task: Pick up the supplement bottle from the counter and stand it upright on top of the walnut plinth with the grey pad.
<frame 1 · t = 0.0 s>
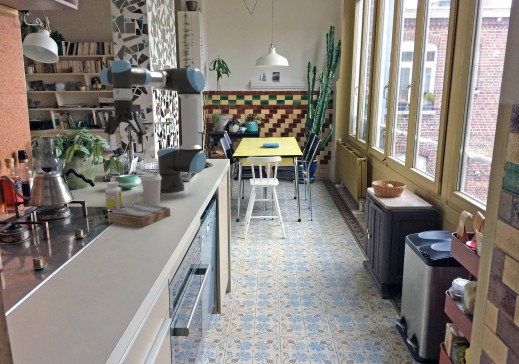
hand: (126, 150, 177), 28 cm above the worktop, tool pointing down, fingers open, 13 cm apart
supplement bottle: (114, 210, 190), on the worktop
plinth: (140, 218, 177), on the worktop
coffee cup: (152, 206, 198), on the worktop
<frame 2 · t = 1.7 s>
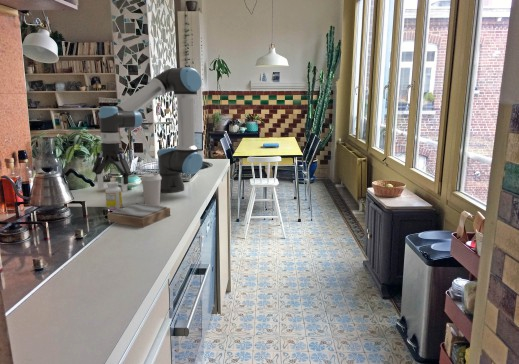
hand: (112, 189, 188), 9 cm above the worktop, tool pointing down, fingers open, 13 cm apart
nothing on the worktop moved.
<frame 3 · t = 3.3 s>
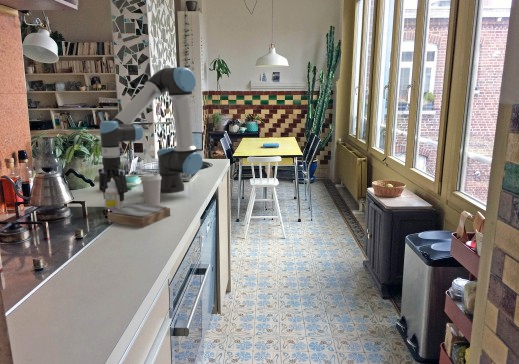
hand: (114, 206, 190), 2 cm above the worktop, tool pointing down, fingers closed on supplement bottle, 7 cm apart
supplement bottle: (114, 210, 190), on the worktop, touching gripper
everything else where it was.
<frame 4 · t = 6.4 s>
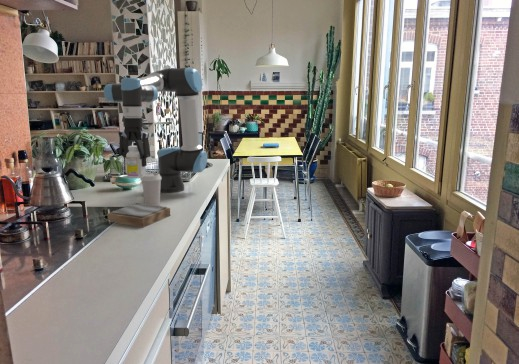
hand: (135, 173, 174), 19 cm above the worktop, tool pointing down, fingers closed on supplement bottle, 7 cm apart
supplement bottle: (135, 177, 174), point 18 cm above the worktop, touching gripper
everything else where it was.
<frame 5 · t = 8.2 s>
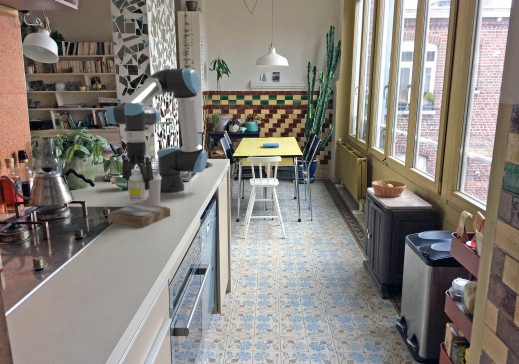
hand: (138, 196, 175), 10 cm above the worktop, tool pointing down, fingers closed on supplement bottle, 7 cm apart
supplement bottle: (138, 200, 176), point 8 cm above the worktop, touching gripper
everything else where it was.
when the fingers open (7 cm above the worktop, at t = 9.6 s): supplement bottle drops 1 cm, resting on plinth.
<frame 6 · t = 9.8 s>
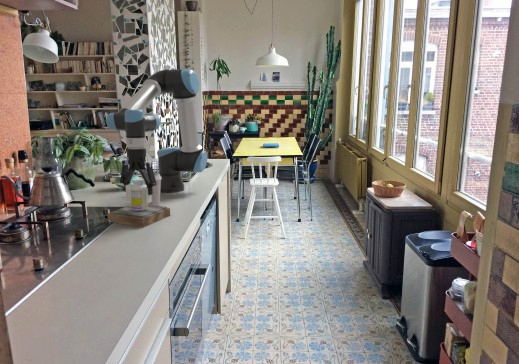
hand: (139, 201, 176), 8 cm above the worktop, tool pointing down, fingers open, 9 cm apart
supplement bottle: (139, 209, 176), point 4 cm above the worktop, touching plinth
everything else where it was.
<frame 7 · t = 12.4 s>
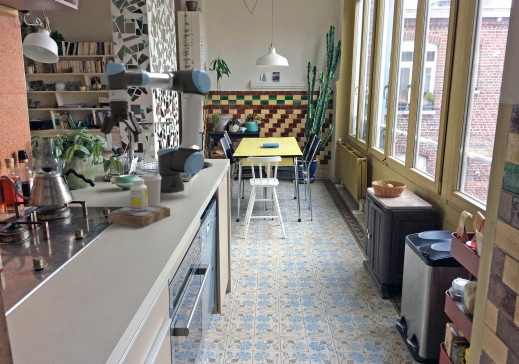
hand: (122, 149, 185), 28 cm above the worktop, tool pointing down, fingers open, 13 cm apart
nothing on the worktop moved.
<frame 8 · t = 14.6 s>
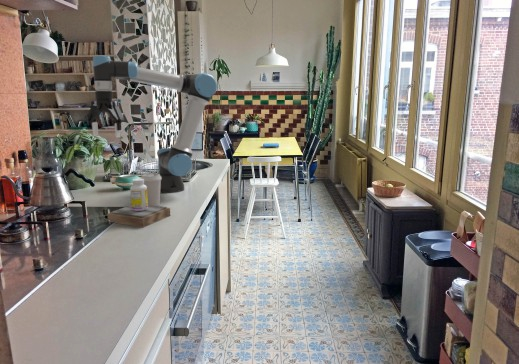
hand: (106, 136, 198), 32 cm above the worktop, tool pointing down, fingers open, 13 cm apart
nothing on the worktop moved.
at the end: supplement bottle inside the target area on the plinth (0.2 cm from its centre), point 3.8 cm above the plinth's base; supplement bottle tilted 0°; the gripper is holding nothing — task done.
